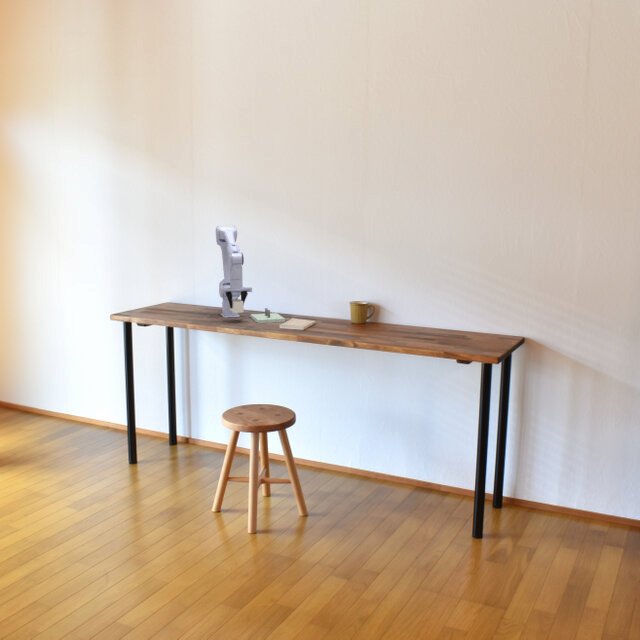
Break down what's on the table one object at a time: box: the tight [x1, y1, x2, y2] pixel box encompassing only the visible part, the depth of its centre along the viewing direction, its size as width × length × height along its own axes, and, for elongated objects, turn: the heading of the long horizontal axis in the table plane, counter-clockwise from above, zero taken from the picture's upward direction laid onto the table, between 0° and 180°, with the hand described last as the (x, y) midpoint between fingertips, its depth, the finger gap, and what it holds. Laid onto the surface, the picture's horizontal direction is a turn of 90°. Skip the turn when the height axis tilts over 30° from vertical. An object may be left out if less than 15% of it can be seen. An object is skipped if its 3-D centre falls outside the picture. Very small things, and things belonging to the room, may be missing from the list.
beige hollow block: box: [230, 298, 245, 314], centre depth 366 cm, size 9×5×5 cm, turn 17°
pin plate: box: [250, 307, 286, 324], centre depth 373 cm, size 16×13×5 cm
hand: (236, 307), depth 367 cm, fingers closed on beige hollow block, 5 cm apart
